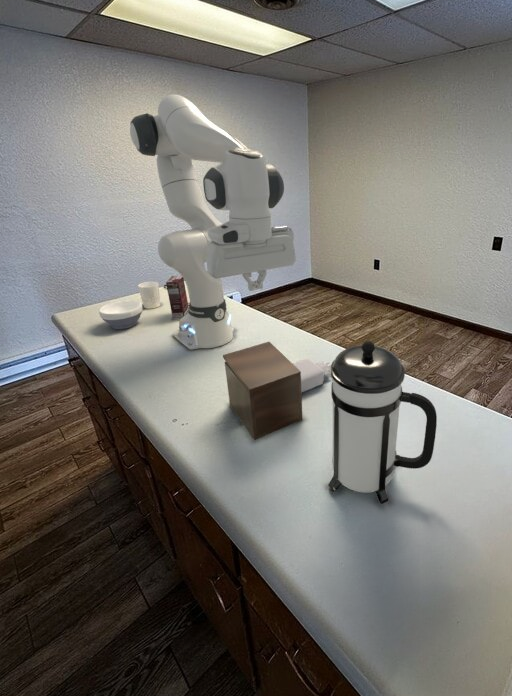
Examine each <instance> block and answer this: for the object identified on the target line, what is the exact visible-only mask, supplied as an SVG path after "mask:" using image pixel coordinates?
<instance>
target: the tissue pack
mask: <svg viewBox="0 0 512 696" xmlns="http://www.w3.org/2000/svg"><path fill="white" fill-rule="evenodd" d="M292 364H293V365H294V366H295V367H296V368H298V369H299V370H300V371H301V393H305V392H307V391H309V390H312V389H314V388H316V387H318V386H322V385H323V384H324V381H325V380H324V377H325V375H324V374H325V373H326V371H327V370H328V369H329V368H330V367H331V365H330V362H326V363H325V362H324V361H319V362H316V363H315V362H314V361H312V360H310V359H307V358H304V359H301V360H299V361H296V362H293V363H292Z"/></svg>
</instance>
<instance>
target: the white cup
mask: <svg viewBox="0 0 512 696" xmlns="http://www.w3.org/2000/svg"><path fill="white" fill-rule="evenodd" d="M137 288H138V291H139V296H140V299H141V303H142V306H143V309H148V310H149V309H150V310H151V309H156V308H159V307H160V306H161V305H162V304H161V294H160V287H159V283H158V282H157V281H145V282H141V283H139V284H138V285H137Z"/></svg>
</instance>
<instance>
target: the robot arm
mask: <svg viewBox="0 0 512 696" xmlns="http://www.w3.org/2000/svg"><path fill="white" fill-rule="evenodd" d="M129 125H130V126H129V135H130V139H131V141H132V143H133V146H134V147H135V149H136V151H138V152H139V153H140V154H141V155H143V156H147V157H155V156H156V167H157V172H158V178H159V183H160V186H161V190H162V192H163V195H164V198H165V201H166V205H167V208H168V211H169V212H170V213H171V215H172V216H173V217H175V218H177V219H179V220H182V221H184V222H185V223H187V224H188V225H189V226H190V229H184V230H178V231H177V230H176V231H174V232H171V233H168V234H165V235H163V236H161V237H160V239H159V241H158V244H157V253H158V256H159V258H160V260H161V261H162V263H164V264H165V265H166V266H168V267H170V268H172V269H173V270H175V271H177V272H178V273H179V274H180V276H182V277H183V278H184V283H185V285H186V288H187V289H186V290H187V293H188V298H189V301H188V303H186V304H188V305H187V306H189V310H188V313H187V314H186V315H185V316H184V317H182V318H181V319H179V321H178V329H177V330H175V331H174V332H173V337H174V338H175V339H176V340H178V341H179V342H180V343H181V344H183V346H185V347H186V348H187V349H188V350H197V349H213V348H218V347H221V346H224V345H226V344H228V343H229V342H231V341H232V340H233V339H234V334H233V333H234V332H235V327H233V326H232V322H231V318H232V314H231V313H229V311H228V310H227V302H226V299H225V297H224V296H225V295H224V288H223V280H222V279H221V278H228V277H235V276H240V275H242V277H243V279H244V281H246V283H247V288H248V291H249V292H254V291H258V290H263V288H264V285H263V284H264V283H263V282H264V281H265V279H266V277H267V271H268V270H274V269H280V268H286V267H291V266H294V264H295V262H296V258H297V257H296V250H295V244H294V238H295V237H294V231H293V229H292V228H291V227H288V226H287V225H281V226H272V216H271V210H270V209H274V208H275V207H276V206H277V205H278V204H279V203H280V201H281V200H282V197H283V196H284V192H285V182H284V179H283V177H282V175H281V173H280V172H279V170H278V169H277V168H276V167H275V166H274V165H273V164H270V163H266V159H265V156H264V153H261V151H258V150H256V149H252V148H250V149H249V148H248V147H247V146H246V145H245V144H244V143H242V142H241V141H240V140H239V139H238V138H236V137H235V136H234V135H232V134H230V133H229V132H227V131H225V130H224V129H222V128H220V127H219V126H218V125H216V123H213V122H212V121H211V120H209V118H207V116H205V114H204V113H203V112H202V111H201V110H200V108H198V106H196V105H195V104H194V103H193V102H192V101H191V100H189V99H188V98H186V97H185V96H183V95H181V94H176V93H175V94H168V95H166V96H164V97H163V98H162V99H161V100H160V102H159V104H158V107H157V113H142V114H139V115H136V116H134V117H133V118H132V119H131V121H130V124H129ZM192 160H193V161H200V162H209V163H219V164H217V165H216V166H213V167H210V168H208V170H207V172H206V173H205V174H204V175H203V176H204V177H203V181H202V184H203V192H204V195H203V192H202V189H201V186H200V183H199V180H198V177H197V174H196V171H195V169H194V166H193V162H192ZM206 202H207V203H208V204H209V205H211V206H212V207H213V208H214V209H215V210H219V211H228V212H229V213H228V219H229V220H228V221H227V222H224V223H222V222H221V221H220V220H218V219H217V217H215V215H214V214H213V213H212V212H211V210H210V208H209V207H208V205H207V203H206ZM205 263H206V266H205ZM252 273H257V274H258V276H257V278H256V280H252V279H251V278H252ZM163 288H167V285H166V284H164V285H163Z"/></svg>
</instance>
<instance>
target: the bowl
mask: <svg viewBox="0 0 512 696" xmlns="http://www.w3.org/2000/svg"><path fill="white" fill-rule="evenodd" d="M143 309H144V307H143V303H142V301H139V300H136V299H125V300H118V301H113V302H109V303H107V304H104V305H103V306H101V307H100V308H99V309H98V313H99V317H100V318H101V319H102V321H104V322H105V323H106V324H107V325H108V326H110V327H111V328H112V329H116V330H125V329H128V328H132V327H134V326H135V325H137V324H138V322H139V320H140V319H141V316H142V313H143Z"/></svg>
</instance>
